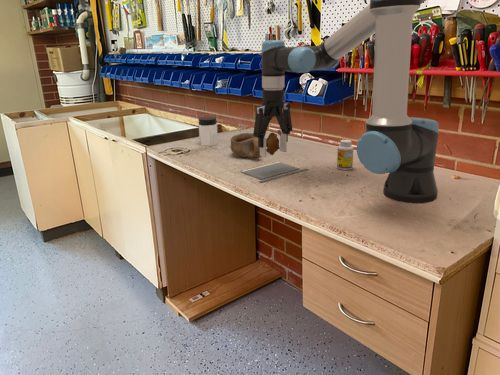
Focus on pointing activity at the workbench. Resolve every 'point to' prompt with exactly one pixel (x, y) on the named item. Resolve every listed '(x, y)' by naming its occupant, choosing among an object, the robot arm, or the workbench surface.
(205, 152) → the workbench surface
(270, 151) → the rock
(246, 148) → the bowl
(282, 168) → the mat
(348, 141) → the supplement bottle
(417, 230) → the workbench surface
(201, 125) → the jar
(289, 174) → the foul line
